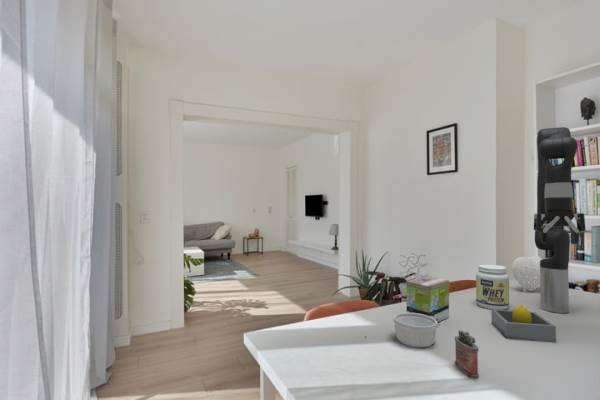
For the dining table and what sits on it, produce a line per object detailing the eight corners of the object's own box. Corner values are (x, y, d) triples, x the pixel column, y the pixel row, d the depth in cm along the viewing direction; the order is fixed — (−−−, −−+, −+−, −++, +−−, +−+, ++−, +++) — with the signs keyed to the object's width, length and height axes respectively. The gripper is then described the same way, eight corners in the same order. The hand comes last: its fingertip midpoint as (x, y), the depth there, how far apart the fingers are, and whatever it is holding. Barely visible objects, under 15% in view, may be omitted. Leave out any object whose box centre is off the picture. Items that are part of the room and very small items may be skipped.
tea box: (431, 327, 116) (430, 285, 116) (405, 320, 124) (405, 280, 124) (450, 317, 126) (449, 279, 126) (425, 311, 134) (425, 275, 134)
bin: (491, 323, 120) (491, 309, 120) (535, 326, 117) (535, 312, 117) (506, 338, 106) (506, 323, 106) (556, 342, 103) (555, 326, 103)
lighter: (451, 363, 90) (451, 327, 90) (463, 362, 90) (463, 326, 90) (469, 379, 82) (468, 339, 82) (482, 378, 82) (481, 338, 82)
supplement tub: (477, 308, 136) (477, 268, 137) (474, 300, 148) (474, 263, 148) (512, 312, 132) (511, 270, 132) (506, 303, 143) (505, 264, 143)
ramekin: (436, 335, 109) (435, 314, 109) (439, 352, 97) (438, 328, 97) (394, 330, 114) (394, 310, 114) (392, 346, 101) (392, 323, 101)
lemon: (527, 326, 114) (526, 303, 114) (535, 332, 108) (534, 308, 108) (509, 325, 115) (509, 302, 115) (516, 331, 109) (516, 307, 109)
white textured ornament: (526, 295, 156) (525, 259, 156) (506, 289, 166) (505, 255, 166) (553, 291, 161) (552, 257, 161) (532, 286, 171) (531, 254, 172)
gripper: (576, 196, 114) (577, 242, 114) (529, 196, 117) (530, 242, 117) (589, 195, 107) (590, 245, 106) (539, 196, 110) (540, 244, 110)
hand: (559, 243), depth 112 cm, fingers open, 8 cm apart
